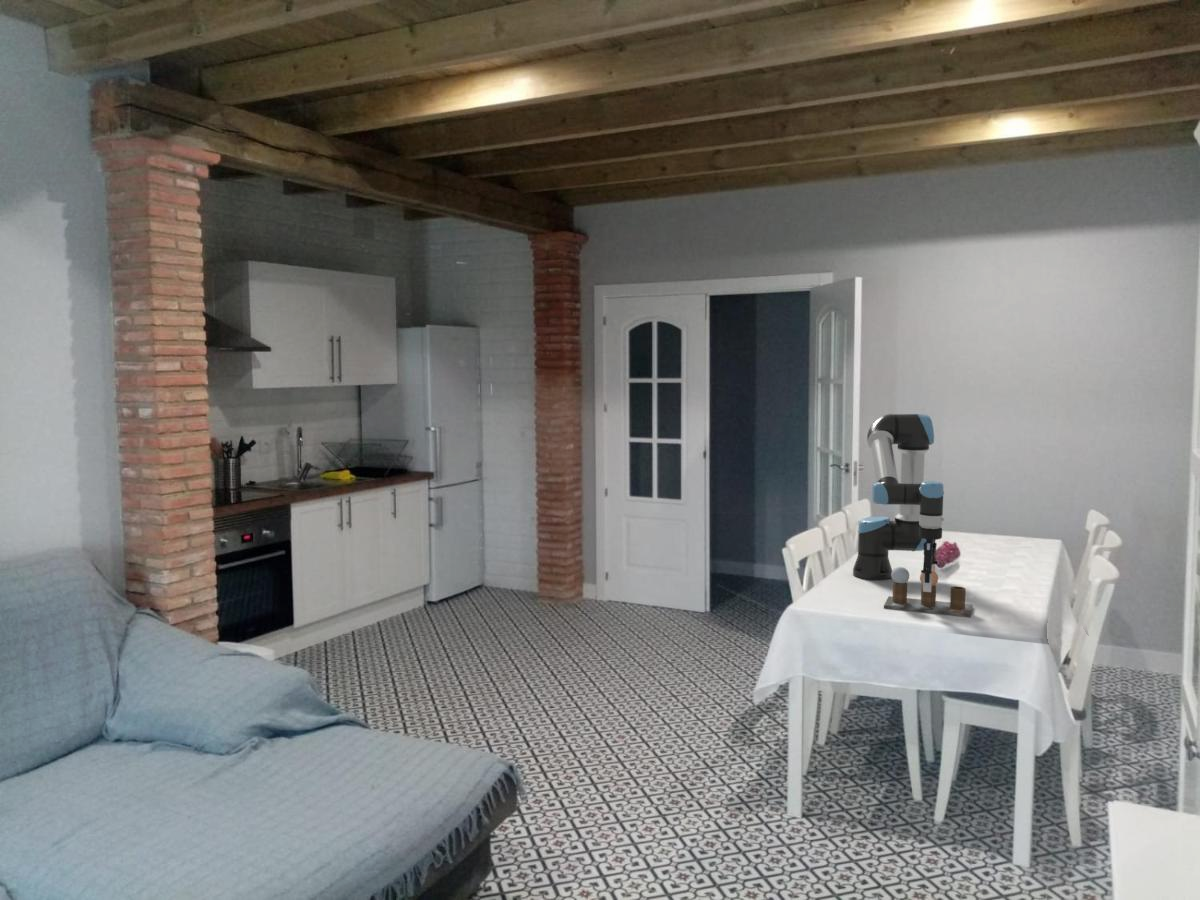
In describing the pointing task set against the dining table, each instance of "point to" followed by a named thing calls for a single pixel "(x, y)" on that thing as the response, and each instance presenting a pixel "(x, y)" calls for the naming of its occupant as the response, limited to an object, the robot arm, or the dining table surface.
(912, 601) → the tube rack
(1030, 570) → the dining table surface
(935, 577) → the ball terracotta
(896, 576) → the ball grey
